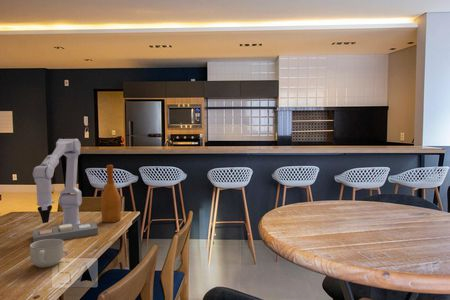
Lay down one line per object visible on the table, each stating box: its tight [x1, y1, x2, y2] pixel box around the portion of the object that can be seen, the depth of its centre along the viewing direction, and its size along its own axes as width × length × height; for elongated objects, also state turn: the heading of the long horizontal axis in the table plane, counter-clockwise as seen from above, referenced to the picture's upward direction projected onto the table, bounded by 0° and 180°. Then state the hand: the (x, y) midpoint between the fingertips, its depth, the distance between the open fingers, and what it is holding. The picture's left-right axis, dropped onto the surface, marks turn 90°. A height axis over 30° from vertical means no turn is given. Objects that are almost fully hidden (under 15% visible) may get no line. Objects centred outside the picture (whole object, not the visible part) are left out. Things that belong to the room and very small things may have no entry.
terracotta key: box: [39, 229, 53, 235], centre depth 143 cm, size 5×5×2 cm
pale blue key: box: [78, 224, 91, 229], centre depth 152 cm, size 5×5×2 cm
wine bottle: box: [100, 164, 122, 223], centre depth 170 cm, size 10×10×30 cm
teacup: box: [29, 239, 65, 268], centre depth 115 cm, size 14×11×8 cm
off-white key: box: [58, 224, 72, 232], centre depth 147 cm, size 5×5×2 cm
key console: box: [32, 221, 99, 243], centre depth 148 cm, size 12×26×3 cm, turn 121°
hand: (45, 222), depth 143 cm, fingers closed
